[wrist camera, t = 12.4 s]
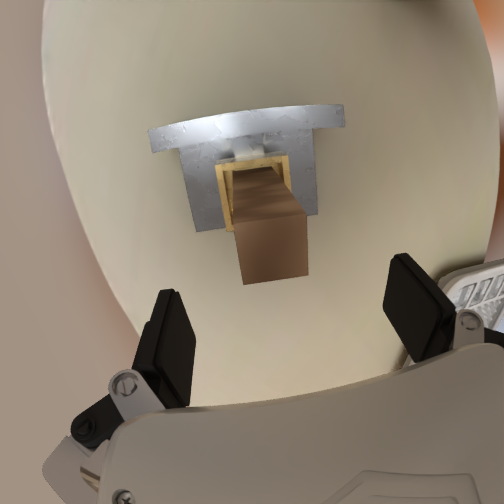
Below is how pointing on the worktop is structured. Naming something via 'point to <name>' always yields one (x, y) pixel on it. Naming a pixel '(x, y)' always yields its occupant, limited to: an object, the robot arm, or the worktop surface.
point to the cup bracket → (246, 155)
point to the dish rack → (476, 292)
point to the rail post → (268, 227)
